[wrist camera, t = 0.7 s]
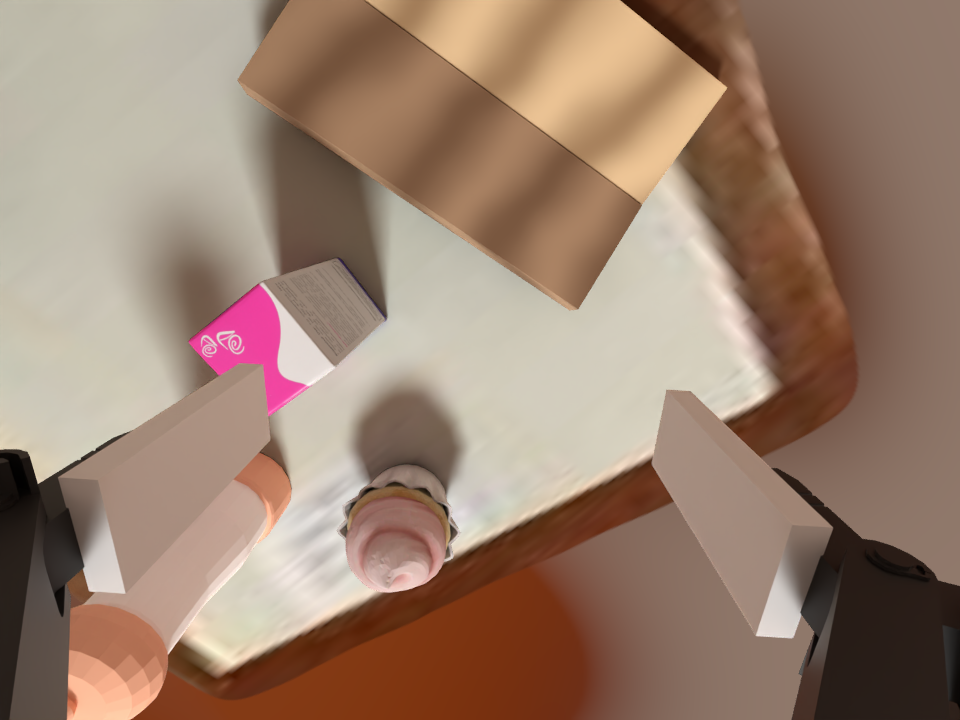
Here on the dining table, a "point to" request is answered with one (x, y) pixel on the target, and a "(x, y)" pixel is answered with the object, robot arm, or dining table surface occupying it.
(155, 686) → the peach and white cylinder
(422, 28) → the laid plank
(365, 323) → the supplement box
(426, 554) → the cupcake
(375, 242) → the dining table surface
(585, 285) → the board
